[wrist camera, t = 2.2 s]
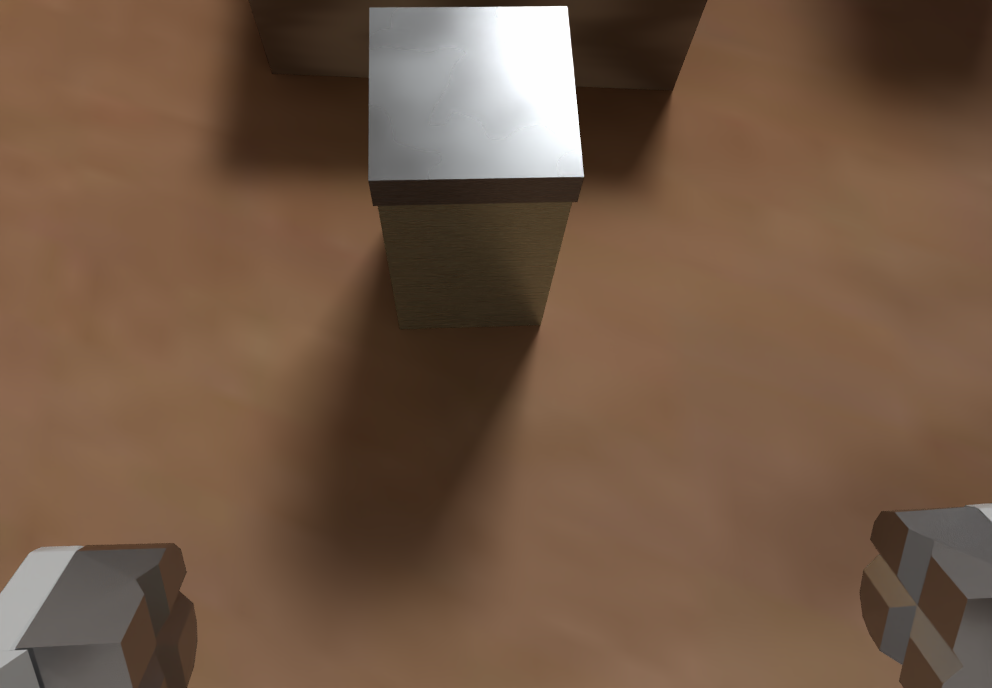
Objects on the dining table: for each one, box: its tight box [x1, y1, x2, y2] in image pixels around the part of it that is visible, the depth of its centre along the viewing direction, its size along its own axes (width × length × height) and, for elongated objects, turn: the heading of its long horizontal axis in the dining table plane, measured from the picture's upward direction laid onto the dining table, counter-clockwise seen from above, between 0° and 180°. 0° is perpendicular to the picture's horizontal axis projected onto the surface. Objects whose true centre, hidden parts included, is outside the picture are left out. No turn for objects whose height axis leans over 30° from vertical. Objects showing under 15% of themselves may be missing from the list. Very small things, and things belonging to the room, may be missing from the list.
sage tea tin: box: [368, 6, 584, 329], centre depth 25 cm, size 5×5×10 cm
